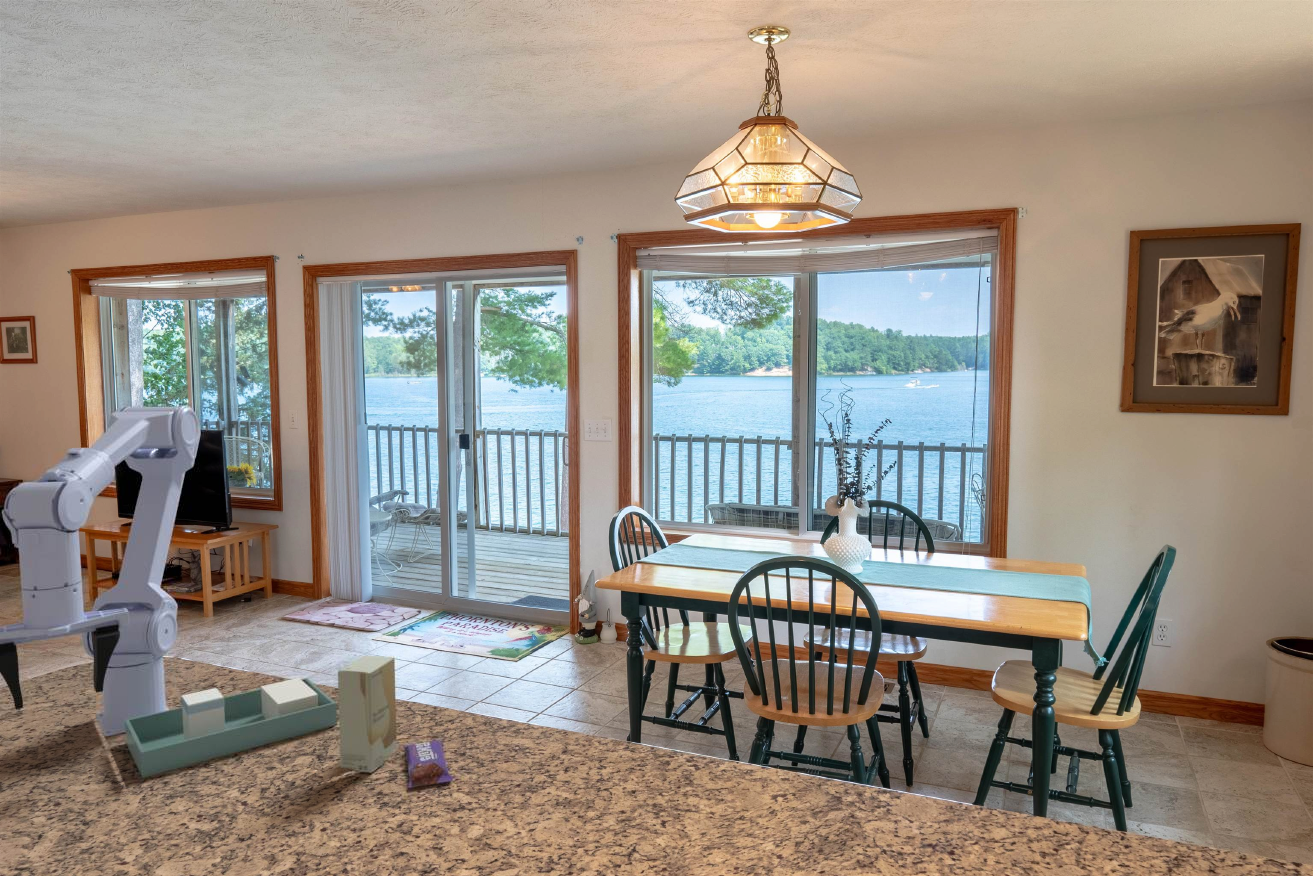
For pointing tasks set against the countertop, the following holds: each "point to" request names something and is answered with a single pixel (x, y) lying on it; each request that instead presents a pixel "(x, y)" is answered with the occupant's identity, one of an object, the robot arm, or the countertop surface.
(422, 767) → the snack package
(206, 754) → the tray
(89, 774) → the countertop surface
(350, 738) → the skincare box
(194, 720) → the milk carton
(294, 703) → the white box
